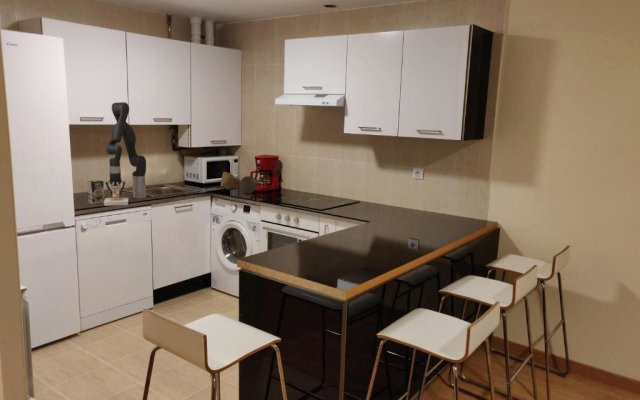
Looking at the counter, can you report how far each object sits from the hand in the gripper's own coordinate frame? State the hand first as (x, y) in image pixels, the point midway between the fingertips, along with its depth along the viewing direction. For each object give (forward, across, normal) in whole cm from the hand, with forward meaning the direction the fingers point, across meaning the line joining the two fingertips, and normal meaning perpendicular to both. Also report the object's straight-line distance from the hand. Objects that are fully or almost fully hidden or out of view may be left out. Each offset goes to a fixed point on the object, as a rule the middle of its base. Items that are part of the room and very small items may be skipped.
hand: (116, 195), depth 356 cm
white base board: (+6, 0, 0) cm, 6 cm away
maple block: (+1, 0, 0) cm, 1 cm away
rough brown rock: (+6, -94, -54) cm, 109 cm away
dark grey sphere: (+6, -103, -24) cm, 106 cm away
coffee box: (+6, +14, -4) cm, 15 cm away
